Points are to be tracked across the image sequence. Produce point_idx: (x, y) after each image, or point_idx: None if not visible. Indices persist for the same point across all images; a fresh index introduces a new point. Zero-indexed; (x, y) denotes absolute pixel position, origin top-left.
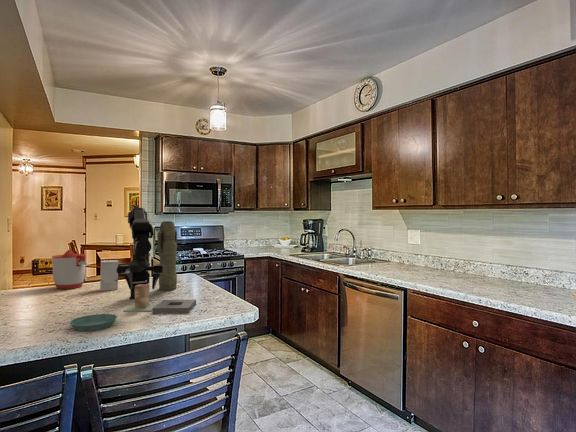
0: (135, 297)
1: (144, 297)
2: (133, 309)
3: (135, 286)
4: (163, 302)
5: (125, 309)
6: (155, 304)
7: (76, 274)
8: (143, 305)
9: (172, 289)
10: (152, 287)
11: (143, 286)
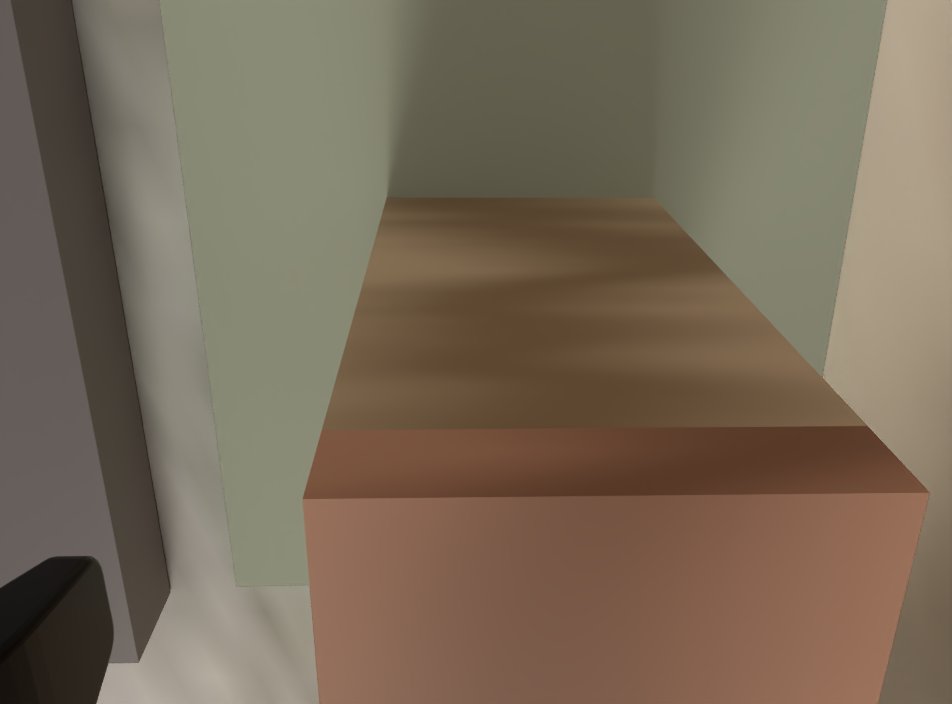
0: (711, 287)
1: (399, 283)
2: (655, 89)
3: (882, 489)
4: (6, 435)
5: (858, 93)
6: (298, 523)
7: None
8: (440, 218)
9: None
10: (39, 595)
11: (423, 498)
